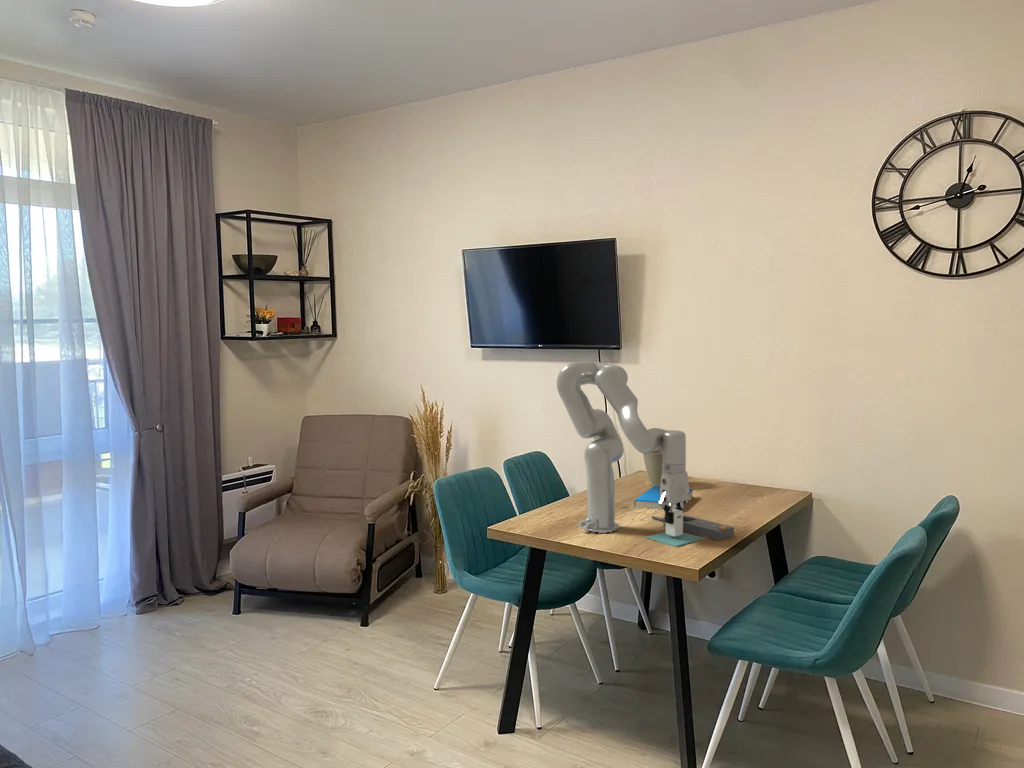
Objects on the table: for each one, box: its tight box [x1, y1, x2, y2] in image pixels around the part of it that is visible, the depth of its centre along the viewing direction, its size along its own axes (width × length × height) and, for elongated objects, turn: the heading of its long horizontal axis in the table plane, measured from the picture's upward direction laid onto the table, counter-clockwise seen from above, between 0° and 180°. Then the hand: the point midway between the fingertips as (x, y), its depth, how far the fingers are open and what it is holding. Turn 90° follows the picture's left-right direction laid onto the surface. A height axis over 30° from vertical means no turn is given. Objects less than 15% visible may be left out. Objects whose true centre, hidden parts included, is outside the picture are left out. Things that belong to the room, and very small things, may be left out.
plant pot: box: [642, 449, 663, 487], centre depth 328 cm, size 15×15×16 cm
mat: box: [645, 530, 703, 548], centre depth 252 cm, size 13×13×1 cm
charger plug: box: [665, 508, 684, 536], centre depth 251 cm, size 4×4×8 cm
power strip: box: [650, 514, 735, 541], centre depth 264 cm, size 33×8×4 cm, turn 38°
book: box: [633, 486, 694, 511], centre depth 300 cm, size 17×4×25 cm
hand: (674, 521), depth 251 cm, fingers closed on charger plug, 4 cm apart
